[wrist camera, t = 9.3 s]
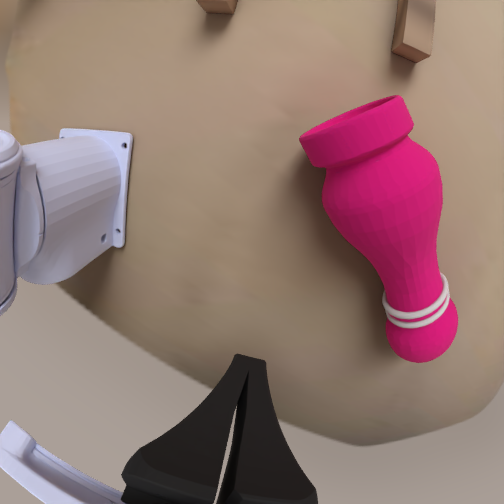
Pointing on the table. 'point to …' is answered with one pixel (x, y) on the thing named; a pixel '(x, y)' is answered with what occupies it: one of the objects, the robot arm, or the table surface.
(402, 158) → the pepper mill
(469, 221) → the table surface
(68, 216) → the robot arm
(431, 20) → the u rest
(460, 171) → the table surface
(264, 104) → the table surface
